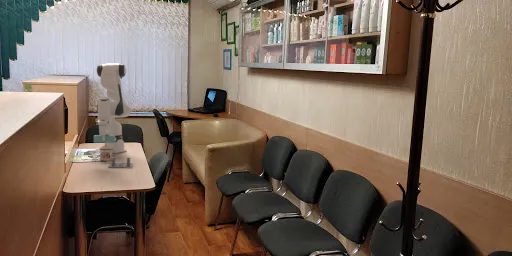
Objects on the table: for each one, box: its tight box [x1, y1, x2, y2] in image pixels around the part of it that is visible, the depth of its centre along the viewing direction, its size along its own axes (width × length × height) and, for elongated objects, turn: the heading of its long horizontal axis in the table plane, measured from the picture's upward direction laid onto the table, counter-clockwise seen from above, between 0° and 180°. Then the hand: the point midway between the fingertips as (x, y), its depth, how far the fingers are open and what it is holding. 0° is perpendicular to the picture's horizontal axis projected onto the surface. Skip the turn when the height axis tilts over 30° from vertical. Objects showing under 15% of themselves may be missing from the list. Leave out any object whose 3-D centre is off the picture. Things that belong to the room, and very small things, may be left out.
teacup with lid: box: [99, 143, 117, 162], centre depth 311 cm, size 12×9×12 cm
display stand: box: [108, 157, 134, 169], centre depth 294 cm, size 10×16×6 cm, turn 104°
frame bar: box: [93, 134, 115, 144], centre depth 296 cm, size 2×14×5 cm, turn 103°
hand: (104, 140), depth 296 cm, fingers closed on frame bar, 2 cm apart
